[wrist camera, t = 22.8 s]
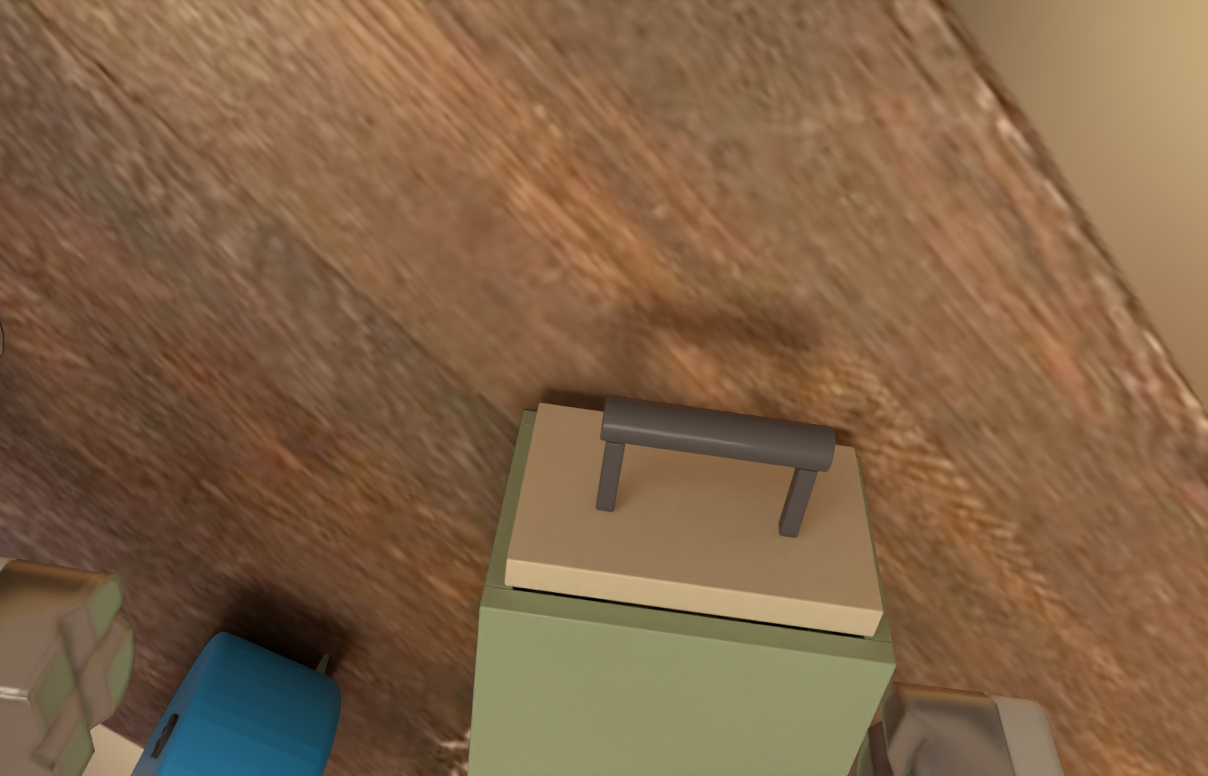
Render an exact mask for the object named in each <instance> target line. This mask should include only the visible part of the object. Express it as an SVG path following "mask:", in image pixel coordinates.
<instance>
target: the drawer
mask: <svg viewBox="0 0 1208 776" xmlns="http://www.w3.org/2000/svg"><path fill="white" fill-rule="evenodd" d="M504 583H505V585H506V586H513V587H520V588H527V589H531V592H532V593H539V594H546V595H553V596H560V597H567V598H575V599H582V600H589V601H596V602H599V599H606V600H613V601H620V602H627V603H634V604H641V605H648V606H656V607H663V608H670V609H677V610H684V611H691V612H698V613H706V614H713V615H720V616H727V617H734V618H741V619H748V620H750V623H753V624H760V625H767V626H774V627H781V628H789V629H796V630H803V631H810V632H817V633H824V634H831V635H833V632H832V631H834V632H841V633H848V634H855V635H862V636H870V637H873V636H874V634H875V631H876V629H877V627H878V624H879V622H880V619H881V617H882V615H883V607H882V601H881V595H880V590H879V584H878V578H877V573H876V567H875V561H874V555H873V550H872V544H871V538H870V533H869V527H868V521H867V515H866V510H865V504H864V498H863V493H862V487H861V481H860V475H859V470H858V464H857V458H856V453H855V448H854V447H849V446H842V445H835V431H834V428H833V427H830V426H823V425H816V424H809V423H802V422H795V421H788V420H781V419H774V418H767V417H760V416H753V415H746V414H739V413H732V412H725V411H718V410H711V409H704V408H697V407H690V406H683V405H676V404H668V403H661V402H654V401H647V400H640V399H633V398H626V397H619V396H612V395H607V396H606V399H605V405H604V412H602V411H595V410H588V409H581V408H574V407H567V406H560V405H553V404H546V403H539V405H538V409H537V414H536V419H535V424H534V429H533V433H532V438H531V443H530V448H529V453H528V458H527V462H526V467H525V472H524V477H523V482H522V486H521V491H520V496H519V501H518V506H517V511H516V515H515V520H514V525H513V530H512V535H511V540H510V544H509V549H508V554H507V559H506V569H505V580H504Z"/></svg>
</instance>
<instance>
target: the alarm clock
mask: <svg viewBox="0 0 1208 776" xmlns="http://www.w3.org/2000/svg"><path fill="white" fill-rule="evenodd" d="M329 656H330V655H328V654H326V653H325V654H324V655H323V656H322V658H321V660H320V661H319V663H318V664H317V666H316V667H315V669H314V670H313V669H311V668H308V667H306V666H304V665H302V664H299V663H297V662H295V661H292V660H290V659H288V658H286V657H283V656H281V655H279V654H276V653H274V652H272V651H270V650H267V649H265V648H263V647H261V646H258V645H256V644H254V643H251V642H249V641H247V640H245V639H242V638H240V637H238V636H235V635H233V634H231V633H228V632H220V633H218V634H216V635H215V636H214V637H212V639H211V640H210V641H209V642H208V644H207V645H206V646H205V648H204V649H203V650H202V652H201V653H200V655H199V656H198V658H197V659H196V661H195V662H194V664H193V665H192V667H191V669H190V670H189V672H188V674H187V675H186V677H185V679H184V680H183V682H182V684H181V685H180V687H179V689H178V690H177V692H176V694H175V695H174V697H173V699H172V701H171V702H170V704H169V706H168V708H167V709H166V711H165V713H164V715H163V717H162V718H161V720H160V722H159V724H158V726H157V727H156V729H155V731H154V733H153V735H152V736H151V738H150V740H149V742H148V744H147V746H146V748H145V749H144V751H143V753H142V755H141V757H140V759H139V761H138V763H137V765H136V766H135V768H134V770H133V772H132V774H131V776H323V773H324V770H325V767H326V764H327V761H328V758H329V755H330V752H331V748H332V745H333V741H334V738H335V734H336V730H337V726H338V721H339V715H340V707H341V696H340V689H339V686H338V685H337V683H336V681H335V680H334V679H332V678H331V677H329V676H327V675H324V672H325V669H326V666H327V663H328V659H329Z"/></svg>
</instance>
